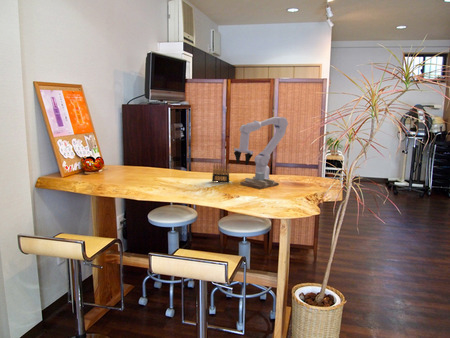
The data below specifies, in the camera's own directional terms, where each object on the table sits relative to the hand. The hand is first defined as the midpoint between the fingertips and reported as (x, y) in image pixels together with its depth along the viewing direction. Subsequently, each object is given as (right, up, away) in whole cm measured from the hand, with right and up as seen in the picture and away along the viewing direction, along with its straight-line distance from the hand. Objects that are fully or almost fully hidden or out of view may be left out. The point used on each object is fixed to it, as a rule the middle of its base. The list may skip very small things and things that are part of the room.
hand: (242, 163), depth 245 cm
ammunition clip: (-14, -12, -9) cm, 21 cm away
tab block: (+10, -12, -13) cm, 21 cm away
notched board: (+10, -13, -13) cm, 21 cm away
